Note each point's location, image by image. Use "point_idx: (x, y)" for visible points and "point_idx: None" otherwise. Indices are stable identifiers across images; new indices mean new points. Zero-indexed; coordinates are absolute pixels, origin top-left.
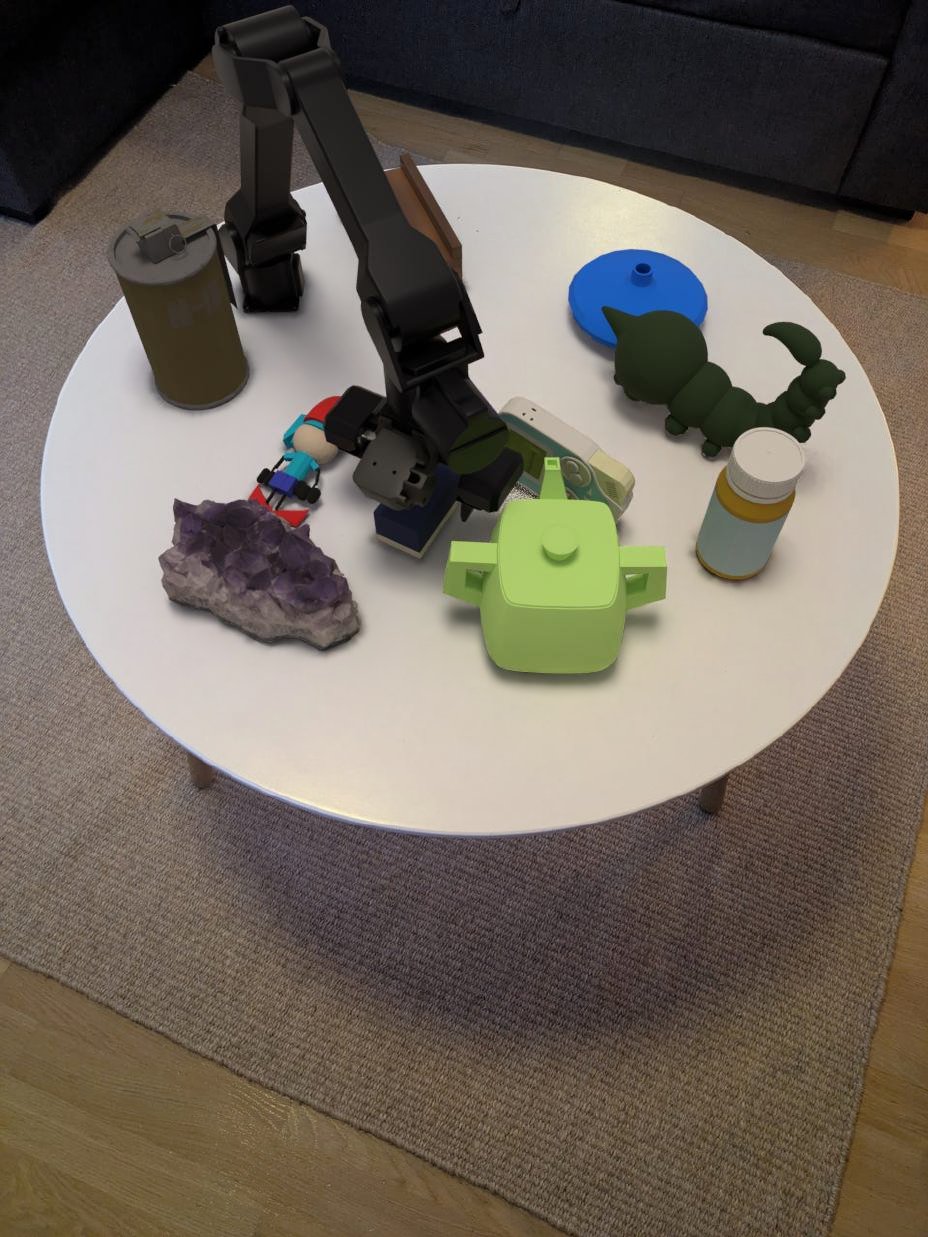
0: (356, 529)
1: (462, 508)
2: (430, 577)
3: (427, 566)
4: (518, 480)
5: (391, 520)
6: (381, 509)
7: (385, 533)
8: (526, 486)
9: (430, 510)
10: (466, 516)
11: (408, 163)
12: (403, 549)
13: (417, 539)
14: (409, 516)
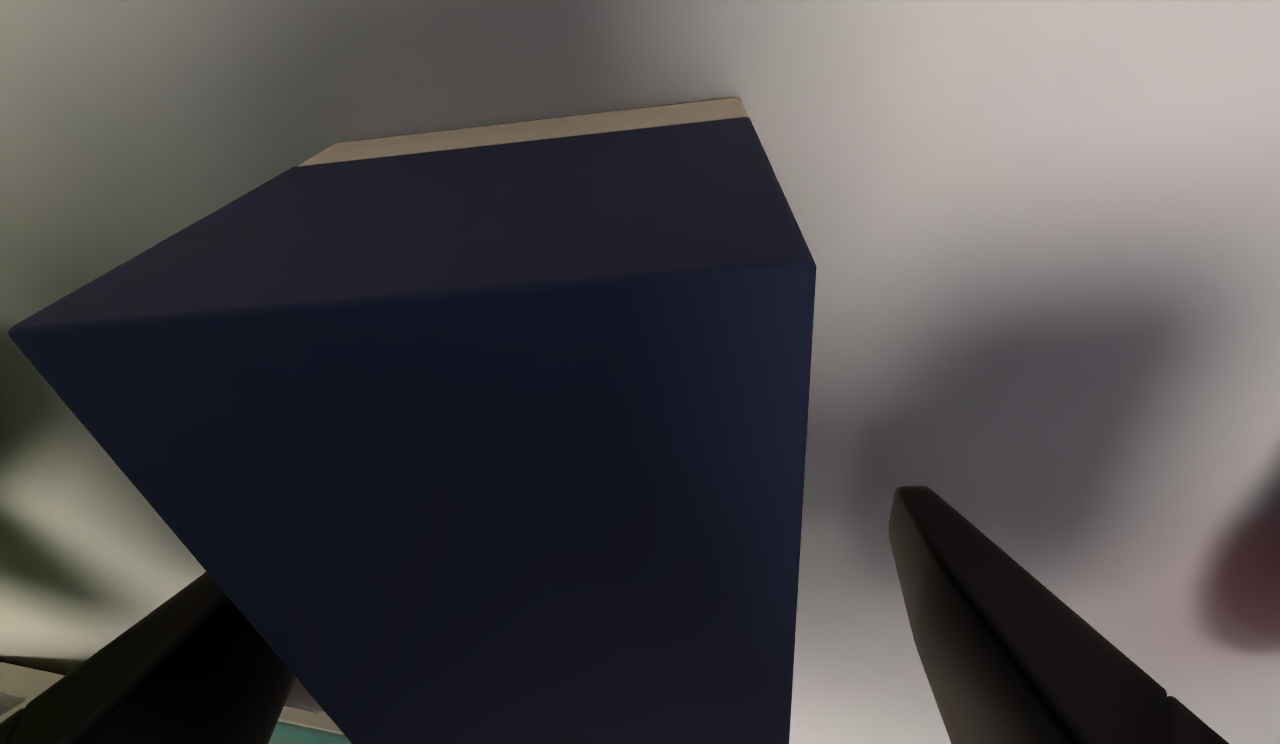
0: (959, 75)
1: (93, 704)
2: (128, 37)
3: (242, 118)
4: (335, 738)
5: (455, 290)
6: (718, 366)
7: (631, 145)
8: (297, 725)
9: (249, 599)
10: (168, 604)
11: None
12: (469, 131)
13: (155, 247)
14: (331, 458)
